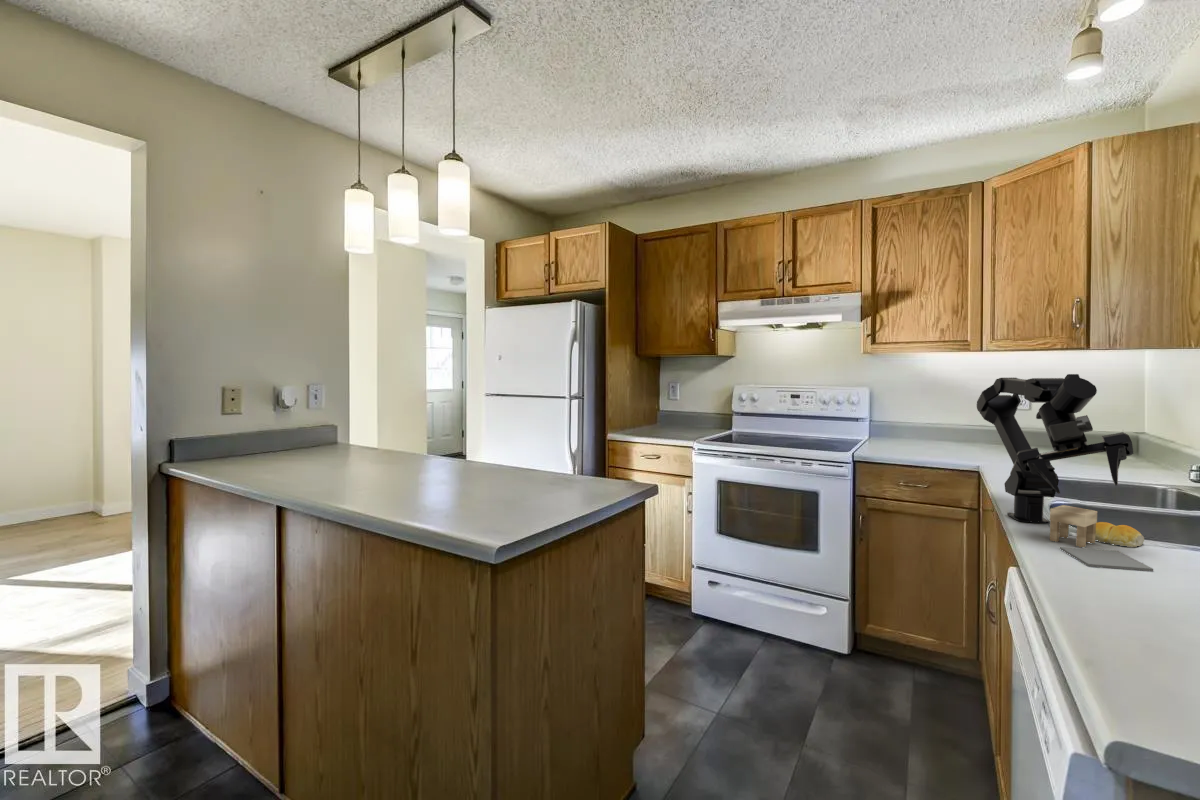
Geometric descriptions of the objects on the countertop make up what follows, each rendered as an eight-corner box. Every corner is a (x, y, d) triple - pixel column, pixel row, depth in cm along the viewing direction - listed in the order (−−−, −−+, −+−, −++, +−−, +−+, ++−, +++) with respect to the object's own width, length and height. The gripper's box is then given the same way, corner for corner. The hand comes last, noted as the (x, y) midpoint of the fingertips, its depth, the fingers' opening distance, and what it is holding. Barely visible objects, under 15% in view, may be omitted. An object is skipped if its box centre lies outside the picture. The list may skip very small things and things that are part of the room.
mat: (1059, 549, 113) (1059, 546, 113) (1118, 553, 111) (1118, 550, 111) (1088, 566, 104) (1088, 564, 104) (1153, 571, 101) (1153, 568, 101)
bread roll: (1095, 533, 124) (1096, 516, 124) (1148, 544, 116) (1149, 526, 116) (1077, 538, 121) (1078, 520, 120) (1130, 551, 113) (1131, 532, 112)
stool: (1048, 540, 119) (1050, 508, 118) (1061, 535, 122) (1062, 504, 121) (1083, 548, 114) (1085, 515, 113) (1095, 543, 117) (1097, 511, 116)
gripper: (1003, 418, 122) (1024, 480, 113) (1113, 394, 111) (1146, 461, 102) (1013, 441, 128) (1033, 502, 119) (1117, 421, 117) (1148, 486, 109)
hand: (1087, 488), depth 112 cm, fingers open, 9 cm apart
